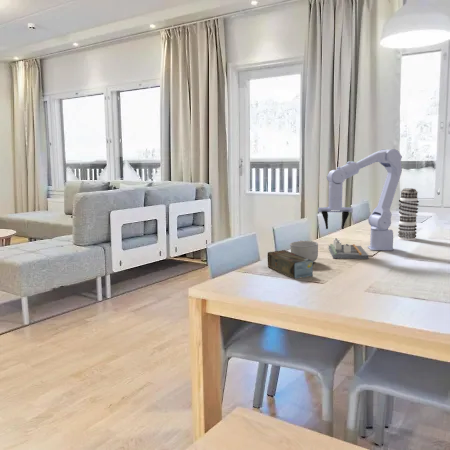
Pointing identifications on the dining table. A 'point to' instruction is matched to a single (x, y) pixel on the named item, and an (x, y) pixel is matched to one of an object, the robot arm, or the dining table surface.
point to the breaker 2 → (337, 245)
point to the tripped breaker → (347, 248)
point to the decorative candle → (408, 214)
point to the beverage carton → (290, 264)
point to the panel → (356, 253)
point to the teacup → (305, 249)
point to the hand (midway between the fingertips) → (334, 228)
